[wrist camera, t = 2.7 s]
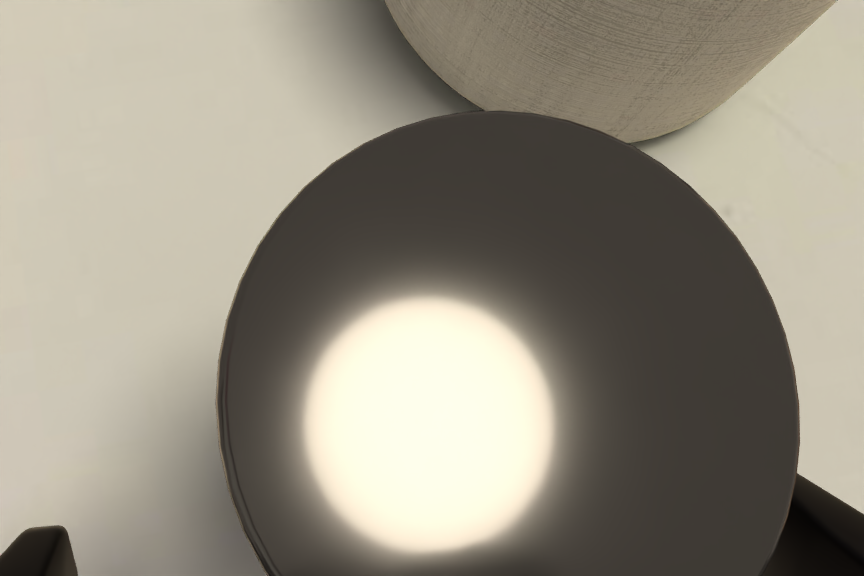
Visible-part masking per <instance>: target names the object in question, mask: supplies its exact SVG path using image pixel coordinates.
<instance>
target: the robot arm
mask: <svg viewBox="0 0 864 576" xmlns="http://www.w3.org/2000/svg"><path fill="white" fill-rule="evenodd" d="M0 576H78V573H77V567H76V563H75V559H74V556H73V552H72V548H71V544H70V540H69V536H68V532H67V530H66V529H65V528H64V527H63V526H59V525H57V526H45V527H34V528H29V529H27V530H25V531H24V532H22V533H21V534H20V535H19V536H18V537H17V538H16V540H15V541H14V542H13V543H12V544H11V545H10V546H9V547H8V548H7V549H6V550H5V551H4V553H3V554H2V555H1V556H0ZM763 576H864V514H862V513H861V512H859V511H857V510H856V509H854V508H853V507H851V506H849V505H848V504H846V503H844V502H843V501H841V500H840V499H838V498H836V497H835V496H833V495H832V494H830V493H828V492H827V491H825V490H823V489H822V488H820V487H819V486H817V485H815V484H814V483H812V482H810V481H809V480H807V479H806V478H804V477H802V476H801V475H799V474H798V473H797V475H796V482H795V487H794V491H793V495H792V500H791V504H790V509H789V513H788V517H787V520H786V523H785V525H784V528H783V531H782V534H781V536H780V539H779V542H778V545H777V547H776V550H775V553H774V555H773V557H772V558H771V560H770V562H769V564H768V566H767V568H766V570H765V572H764V574H763Z"/></svg>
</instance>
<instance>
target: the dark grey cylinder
mask: <svg viewBox="0 0 864 576" xmlns="http://www.w3.org/2000/svg"><path fill="white" fill-rule="evenodd" d="M216 415H217V428H218V442H219V449H220V454H221V459H222V463H223V468H224V473H225V477H226V482H227V487H228V491H229V493H230V496H231V499H232V502H233V504H234V507H235V510H236V513H237V516H238V518H239V521H240V524H241V527H242V529H243V532H244V534H245V536H246V538H247V540H248V541H249V543H250V545H251V547H252V549H253V551H254V553H255V555H256V557H257V559H258V560H259V562H260V564H261V566H262V568H263V570H264V572H265V573H266V575H267V576H763V574H764V572H765V570H766V568H767V566H768V564H769V562H770V560H771V558H772V557H773V555H774V553H775V550H776V547H777V545H778V542H779V539H780V536H781V534H782V531H783V528H784V525H785V523H786V520H787V517H788V513H789V509H790V504H791V500H792V495H793V491H794V487H795V482H796V475H797V465H798V456H799V446H800V424H799V400H798V393H797V385H796V378H795V370H794V366H793V362H792V358H791V354H790V350H789V346H788V342H787V338H786V334H785V331H784V328H783V326H782V323H781V320H780V318H779V315H778V312H777V310H776V307H775V304H774V302H773V299H772V297H771V295H770V293H769V291H768V289H767V287H766V285H765V283H764V281H763V279H762V277H761V275H760V273H759V271H758V269H757V267H756V266H755V264H754V263H753V261H752V260H751V258H750V257H749V255H748V253H747V252H746V250H745V249H744V247H743V246H742V244H741V243H740V241H739V240H738V238H737V237H736V235H735V234H734V233H733V232H732V231H731V229H730V228H729V227H728V226H727V225H726V223H725V222H724V221H723V220H722V218H721V217H720V216H719V215H718V214H717V212H716V211H715V210H714V209H713V208H712V207H711V206H710V205H709V204H708V203H707V202H706V201H705V200H704V199H703V198H702V197H701V196H700V195H699V194H698V193H697V192H696V191H695V190H694V189H693V188H692V187H691V186H690V185H688V184H687V183H686V182H685V181H683V180H682V179H681V178H679V177H678V176H677V175H676V174H674V173H673V172H672V171H670V170H669V169H668V168H667V167H665V166H664V165H663V164H661V163H660V162H658V161H657V160H655V159H653V158H652V157H650V156H648V155H647V154H645V153H644V152H642V151H640V150H639V149H637V148H635V147H634V146H632V145H630V144H628V143H626V142H624V141H621V140H619V139H617V138H615V137H613V136H611V135H609V134H606V133H604V132H602V131H600V130H597V129H594V128H591V127H588V126H585V125H582V124H579V123H576V122H573V121H570V120H566V119H561V118H556V117H551V116H546V115H541V114H536V113H527V112H514V111H502V110H497V111H474V112H462V113H456V114H450V115H445V116H439V117H433V118H429V119H426V120H422V121H419V122H416V123H413V124H409V125H406V126H403V127H400V128H396V129H394V130H392V131H390V132H387V133H385V134H383V135H381V136H379V137H377V138H374V139H372V140H370V141H368V142H366V143H363V144H362V145H360V146H359V147H357V148H355V149H354V150H352V151H351V152H349V153H348V154H346V155H344V156H343V157H341V158H340V159H338V160H336V161H335V162H333V163H332V164H331V165H329V166H328V167H327V168H326V169H325V170H324V171H322V172H321V173H320V174H319V175H318V176H316V177H315V178H314V179H313V180H312V181H310V182H309V183H308V184H307V185H306V186H304V187H303V189H302V190H301V191H300V192H299V193H298V194H297V195H296V196H295V197H294V198H293V200H292V201H291V202H290V203H289V204H288V205H287V206H286V207H285V208H284V209H283V211H282V212H281V213H280V214H279V215H278V217H277V218H276V219H275V221H274V222H273V224H272V225H271V227H270V228H269V230H268V231H267V233H266V234H265V236H264V237H263V238H262V240H261V241H260V243H259V244H258V246H257V247H256V249H255V251H254V253H253V255H252V257H251V259H250V261H249V263H248V265H247V267H246V269H245V271H244V273H243V275H242V277H241V279H240V281H239V284H238V287H237V290H236V293H235V296H234V299H233V301H232V304H231V307H230V310H229V313H228V316H227V319H226V323H225V328H224V333H223V339H222V344H221V349H220V354H219V359H218V371H217V388H216Z"/></svg>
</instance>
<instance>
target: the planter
mask: <svg viewBox="0 0 864 576" xmlns="http://www.w3.org/2000/svg"><path fill="white" fill-rule="evenodd" d="M836 1H838V0H385V3H386V5H387V7H388V9H389V11H390V13H391V15H392V17H393V19H394V20H395V22H396V24H397V26H398V27H399V29H400V31H401V32H402V34H403V35H404V36H405V38H406V39H407V41H408V42H409V44H410V45H411V46H412V47H413V49H414V50H415V51H416V52H417V53H418V55H419V56H420V57H421V58H422V59H423V60H424V62H425V63H426V64H427V65H428V66H429V67H430V68H431V69H432V70H433V71H434V72H435V73H436V74H437V75H438V76H439V77H440V78H441V79H442V80H443V81H444V82H446V83H447V84H448V85H449V86H450V87H452V88H453V89H454V90H455V91H457V92H458V93H459V94H461V95H462V96H463V97H465V98H466V99H468V100H469V101H471V102H472V103H474V104H475V105H477V106H479V107H480V108H482V109H483V110H485V111H497V110H502V111H514V112H527V113H536V114H541V115H546V116H551V117H556V118H561V119H566V120H570V121H573V122H576V123H579V124H582V125H585V126H588V127H591V128H594V129H597V130H600V131H602V132H604V133H606V134H609V135H611V136H613V137H615V138H617V139H619V140H621V141H624V142H626V143H629V142H637V141H642V140H647V139H651V138H655V137H658V136H661V135H665V134H667V133H670V132H673V131H675V130H678V129H680V128H682V127H684V126H686V125H688V124H690V123H692V122H694V121H696V120H697V119H699V118H701V117H703V116H704V115H706V114H708V113H709V112H711V111H712V110H714V109H716V108H717V107H719V106H720V105H721V104H722V103H724V102H725V101H726V100H728V99H729V98H730V97H731V96H732V95H734V94H735V93H736V92H737V91H738V90H739V89H740V88H741V87H743V86H744V85H745V84H746V83H747V82H748V81H749V80H751V79H752V78H753V77H754V76H755V75H756V74H757V73H758V72H759V71H761V70H762V69H763V68H764V67H765V66H766V65H767V64H768V63H769V62H770V61H772V60H773V59H774V58H775V57H776V56H777V55H778V54H779V53H780V52H782V51H783V50H784V49H785V48H786V47H787V46H788V45H789V44H790V43H792V42H793V41H794V40H795V39H796V38H797V37H798V36H799V35H800V34H801V33H802V32H804V31H805V30H806V29H807V28H808V27H809V26H810V25H811V24H812V23H813V22H815V21H816V20H817V19H818V18H819V17H820V16H821V15H822V14H823V13H824V12H826V11H827V10H828V9H829V8H830V7H831V6H832V5H833V4H834V3H835V2H836Z"/></svg>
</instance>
